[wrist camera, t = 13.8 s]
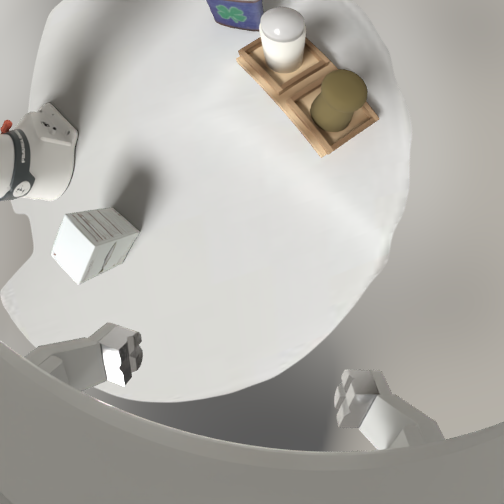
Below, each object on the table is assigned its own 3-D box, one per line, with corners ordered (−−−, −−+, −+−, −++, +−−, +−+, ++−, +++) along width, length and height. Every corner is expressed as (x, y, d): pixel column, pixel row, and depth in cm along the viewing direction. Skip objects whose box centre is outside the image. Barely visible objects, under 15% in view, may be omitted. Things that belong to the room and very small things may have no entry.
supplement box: (123, 264, 44) (77, 287, 32) (96, 238, 44) (48, 253, 31) (142, 231, 42) (95, 247, 30) (113, 205, 42) (63, 212, 30)
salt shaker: (257, 56, 33) (247, 19, 22) (286, 38, 31) (285, -1, 21) (281, 79, 33) (279, 45, 23) (310, 61, 32) (317, 25, 22)
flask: (268, 23, 32) (262, -15, 22) (261, 35, 33) (253, -3, 22) (219, 12, 32) (202, -23, 22) (211, 24, 33) (192, -11, 23)
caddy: (237, 62, 34) (233, 53, 31) (291, 29, 32) (291, 20, 29) (322, 159, 37) (325, 156, 34) (376, 121, 34) (383, 116, 31)
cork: (317, 88, 33) (328, 53, 22) (356, 103, 33) (380, 76, 22) (304, 122, 34) (311, 97, 24) (344, 139, 34) (366, 120, 23)
